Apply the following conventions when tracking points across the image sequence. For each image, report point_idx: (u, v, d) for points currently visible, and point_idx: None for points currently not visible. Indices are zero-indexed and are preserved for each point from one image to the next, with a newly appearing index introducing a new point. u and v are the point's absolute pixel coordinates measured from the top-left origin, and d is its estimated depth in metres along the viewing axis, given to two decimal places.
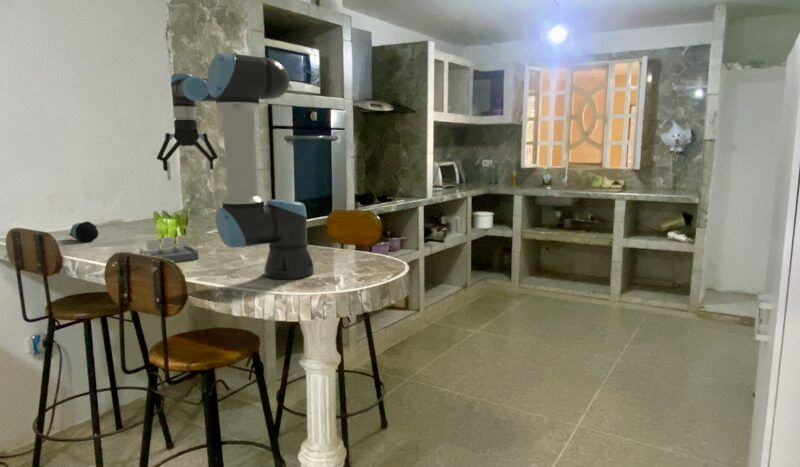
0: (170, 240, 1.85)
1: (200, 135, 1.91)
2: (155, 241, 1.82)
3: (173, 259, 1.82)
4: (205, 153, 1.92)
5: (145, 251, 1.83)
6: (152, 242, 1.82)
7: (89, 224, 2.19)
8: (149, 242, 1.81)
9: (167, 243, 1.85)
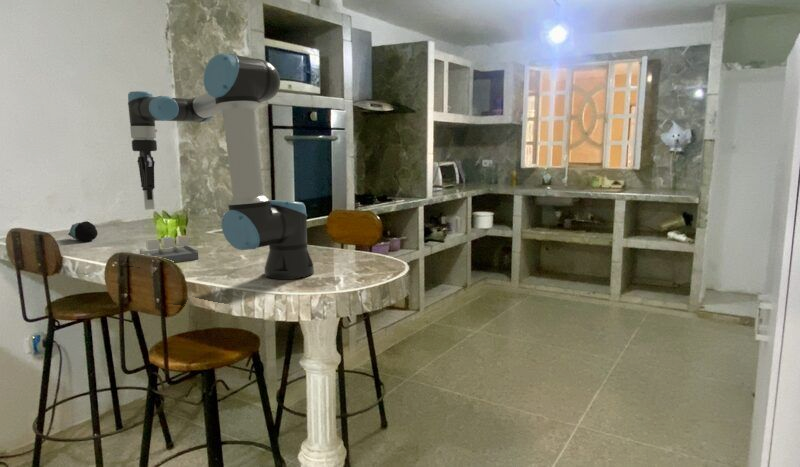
0: (170, 240, 1.85)
1: (147, 159, 1.75)
2: (155, 241, 1.82)
3: (173, 259, 1.82)
4: (144, 180, 1.78)
5: (145, 251, 1.83)
6: (152, 242, 1.82)
7: (88, 224, 2.19)
8: (149, 242, 1.81)
9: (167, 243, 1.85)
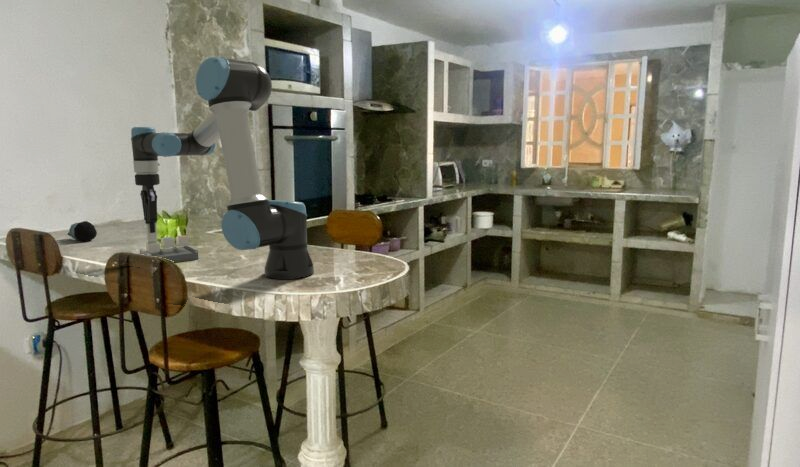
0: (170, 240, 1.85)
1: (150, 194, 1.77)
2: (155, 244, 1.83)
3: (173, 259, 1.82)
4: (147, 213, 1.80)
5: (145, 251, 1.83)
6: (152, 245, 1.82)
7: (87, 224, 2.20)
8: (149, 245, 1.81)
9: (167, 243, 1.85)
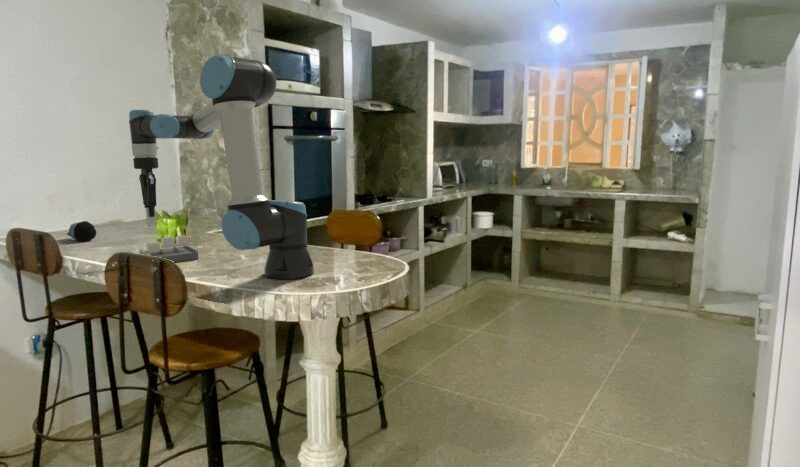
0: (170, 240, 1.85)
1: (149, 177, 1.76)
2: (155, 244, 1.83)
3: (173, 259, 1.82)
4: (146, 197, 1.79)
5: (145, 251, 1.83)
6: (152, 245, 1.82)
7: (87, 224, 2.20)
8: (149, 245, 1.81)
9: (167, 243, 1.85)
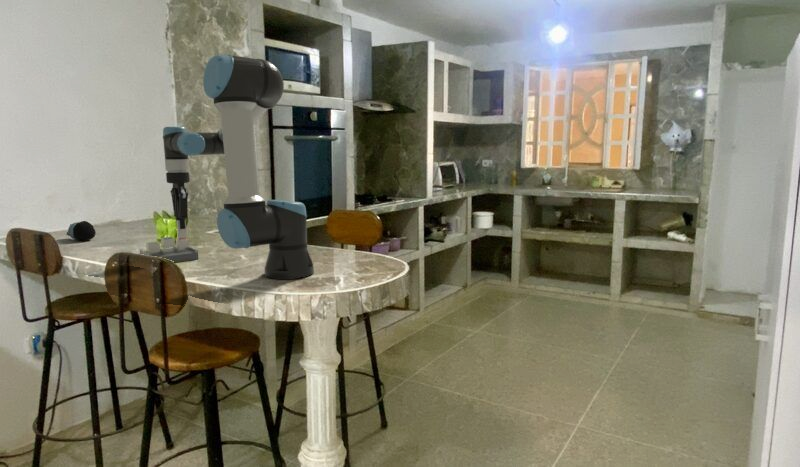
0: (170, 240, 1.85)
1: (181, 191, 1.83)
2: (155, 244, 1.83)
3: (173, 259, 1.82)
4: (177, 210, 1.86)
5: (145, 251, 1.83)
6: (152, 245, 1.82)
7: (86, 223, 2.21)
8: (149, 245, 1.81)
9: (167, 243, 1.85)
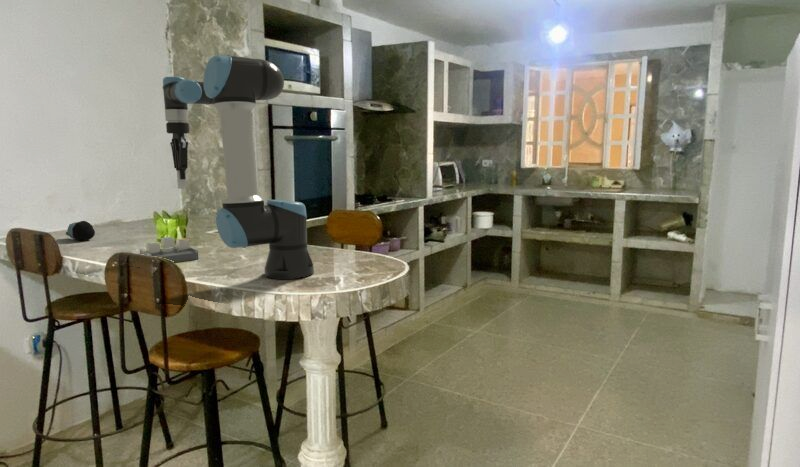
0: (170, 240, 1.85)
1: (181, 141, 1.86)
2: (155, 244, 1.83)
3: (173, 259, 1.82)
4: (177, 161, 1.89)
5: (145, 251, 1.83)
6: (152, 245, 1.82)
7: (86, 223, 2.21)
8: (149, 245, 1.81)
9: (167, 243, 1.85)
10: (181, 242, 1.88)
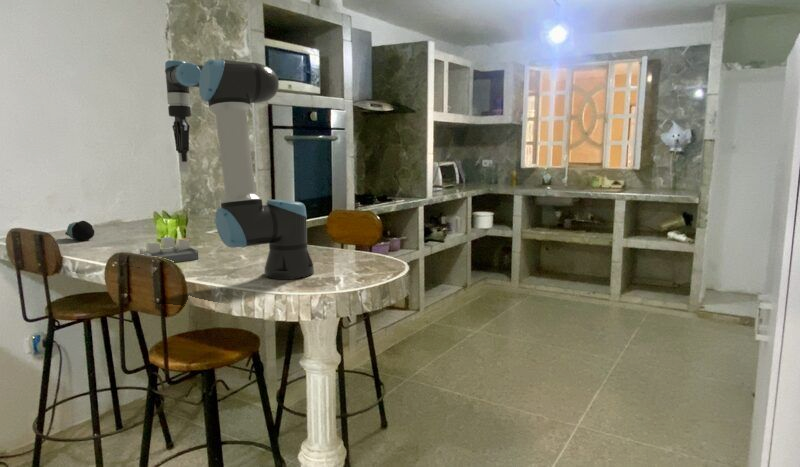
0: (170, 240, 1.85)
1: (182, 123, 1.90)
2: (155, 244, 1.83)
3: (173, 259, 1.82)
4: (179, 143, 1.93)
5: (145, 251, 1.83)
6: (152, 245, 1.82)
7: (85, 223, 2.21)
8: (149, 245, 1.81)
9: (167, 243, 1.85)
10: (181, 242, 1.88)
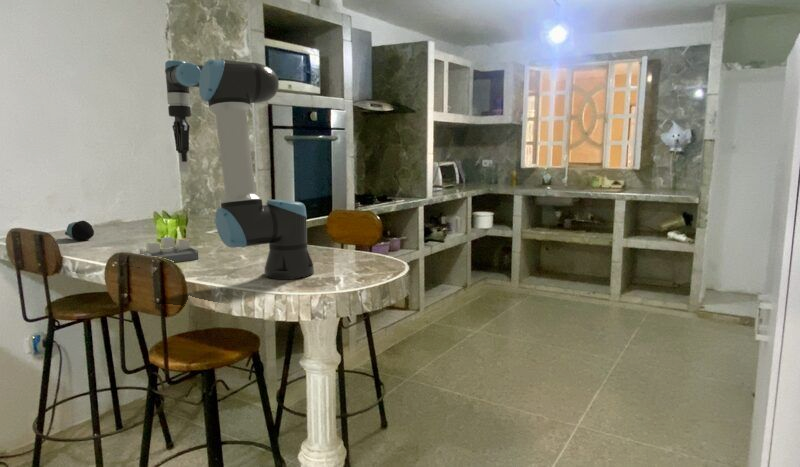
0: (170, 240, 1.85)
1: (182, 123, 1.90)
2: (155, 244, 1.83)
3: (173, 259, 1.82)
4: (179, 143, 1.93)
5: (145, 251, 1.83)
6: (152, 245, 1.82)
7: (85, 223, 2.22)
8: (149, 245, 1.81)
9: (167, 243, 1.85)
10: (181, 242, 1.88)
